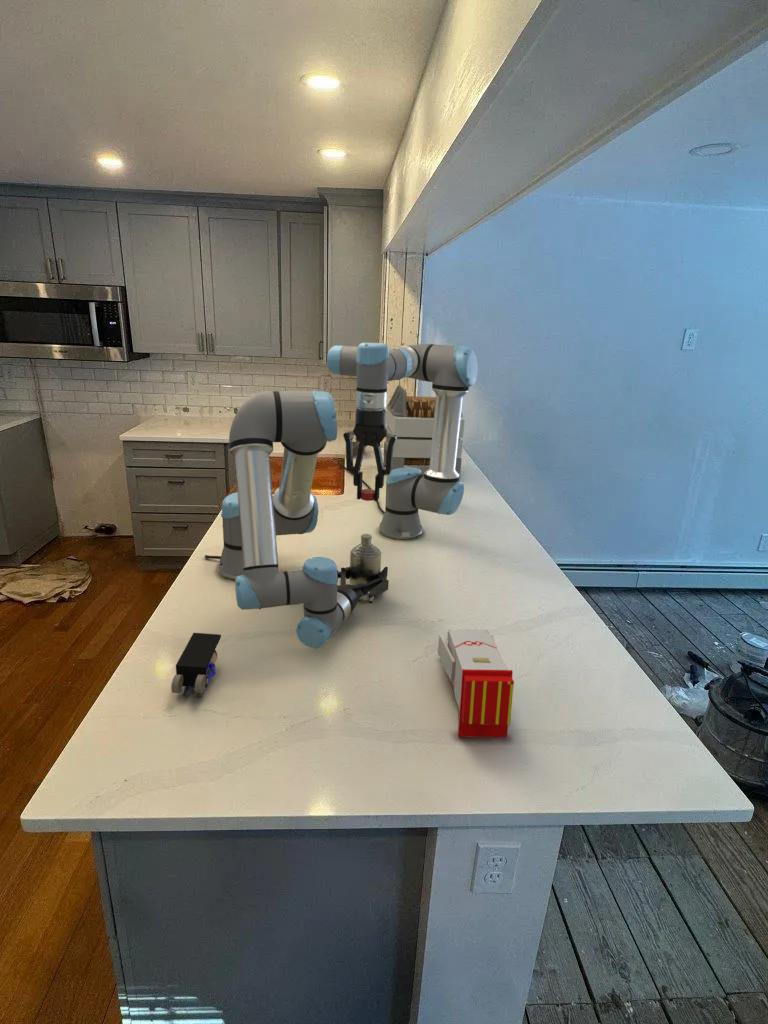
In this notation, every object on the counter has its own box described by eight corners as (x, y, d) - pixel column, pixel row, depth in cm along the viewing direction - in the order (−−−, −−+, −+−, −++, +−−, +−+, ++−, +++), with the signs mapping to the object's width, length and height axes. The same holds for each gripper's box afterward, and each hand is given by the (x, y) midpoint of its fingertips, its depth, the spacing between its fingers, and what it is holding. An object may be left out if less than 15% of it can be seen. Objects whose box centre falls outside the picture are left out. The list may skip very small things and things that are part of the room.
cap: (369, 501, 144) (370, 494, 144) (357, 498, 147) (357, 491, 146) (378, 498, 148) (379, 491, 147) (366, 494, 150) (366, 487, 149)
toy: (488, 613, 130) (523, 677, 101) (484, 667, 133) (517, 744, 104) (435, 612, 130) (455, 676, 101) (432, 666, 133) (451, 743, 103)
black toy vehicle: (206, 709, 112) (224, 658, 125) (202, 680, 108) (221, 630, 122) (172, 708, 112) (194, 657, 125) (167, 679, 108) (190, 629, 122)
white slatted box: (382, 463, 289) (386, 382, 275) (445, 464, 293) (451, 384, 279) (390, 482, 257) (394, 392, 243) (460, 483, 261) (468, 394, 247)
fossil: (346, 440, 316) (367, 425, 311) (357, 453, 319) (378, 438, 314) (340, 453, 296) (362, 438, 291) (351, 468, 299) (374, 452, 294)
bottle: (352, 603, 152) (353, 542, 146) (347, 588, 159) (348, 530, 153) (382, 601, 154) (385, 540, 148) (375, 587, 161) (378, 529, 155)
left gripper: (299, 609, 143) (336, 573, 163) (377, 627, 136) (406, 587, 157) (299, 582, 140) (336, 549, 161) (379, 599, 134) (407, 562, 154)
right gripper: (333, 408, 137) (332, 500, 145) (402, 413, 134) (398, 506, 142) (341, 403, 144) (339, 491, 152) (407, 408, 141) (402, 497, 149)
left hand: (371, 568), depth 159 cm, fingers closed on bottle, 8 cm apart
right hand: (368, 498), depth 147 cm, fingers closed on cap, 4 cm apart
